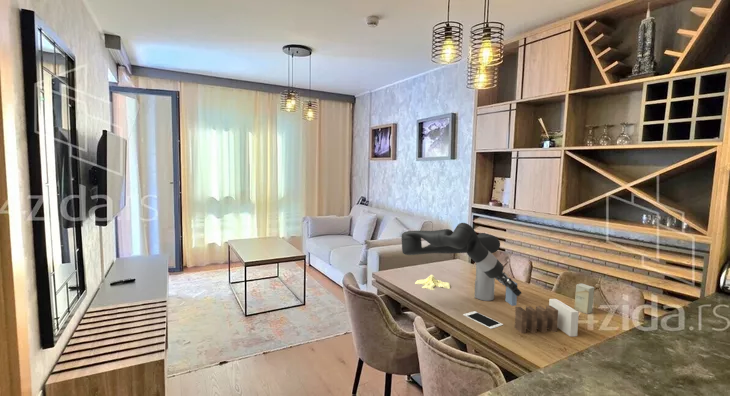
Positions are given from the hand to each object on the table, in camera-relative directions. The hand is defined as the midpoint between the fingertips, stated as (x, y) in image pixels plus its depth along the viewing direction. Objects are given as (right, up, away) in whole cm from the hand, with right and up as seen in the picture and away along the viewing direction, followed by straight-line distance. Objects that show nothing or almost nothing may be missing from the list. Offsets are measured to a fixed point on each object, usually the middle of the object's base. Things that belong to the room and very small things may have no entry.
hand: (515, 291), depth 142 cm
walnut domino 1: (+3, -16, +2) cm, 17 cm away
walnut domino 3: (+12, -16, +3) cm, 20 cm away
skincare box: (+41, -15, +22) cm, 49 cm away
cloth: (-23, -12, +59) cm, 65 cm away
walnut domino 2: (+7, -16, +2) cm, 18 cm away
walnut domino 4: (+16, -16, +3) cm, 23 cm away
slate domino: (-2, -5, 0) cm, 5 cm away
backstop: (+21, -16, +4) cm, 27 cm away
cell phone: (-10, -16, +12) cm, 22 cm away
